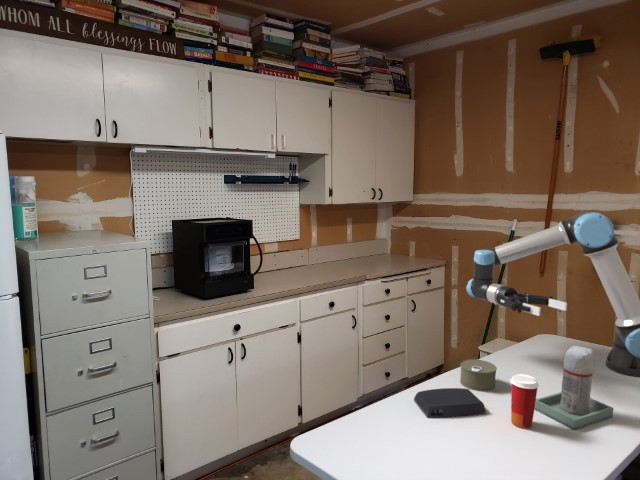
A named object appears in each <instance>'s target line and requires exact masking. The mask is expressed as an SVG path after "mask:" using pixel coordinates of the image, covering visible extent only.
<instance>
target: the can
mask: <svg viewBox="0 0 640 480" xmlns="http://www.w3.org/2000/svg"><path fill="white" fill-rule="evenodd" d="M496 375H497V366H496V365H495V364H493V363H492V362H489V361H487V360H483V359H477V358H471V359H470V358H469V359H464V360H462V361H460V378H459V379H460V380H459V382H460V385H461V386H463V387H464V388H465V389H469V390H470V391H476V392H490V391H493V390H494V389H495V387H496V377H497V376H496Z"/></svg>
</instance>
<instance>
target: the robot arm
mask: <svg viewBox="0 0 640 480" xmlns="http://www.w3.org/2000/svg"><path fill="white" fill-rule="evenodd" d="M576 243H578V246H579V247H580V249H581V252H582V254H583V256H586V257H588V258H590V261H591V263H592V265H593V267H594V269H595V271H596V273H597V276H598V278H599V279H600V282H601V285H602V287H603V289H604V291H605V293H606V295H607V297H608V300H609V302H610V304H611V306H612V308H613V311H614V313H615V317H614V318H615V322H614V330H613V331H614V333H613V343H612V347H611V349H610V351H609V353H608V355H607V357H606V359H605V366H606V367H607V369H610V370H611V371H614V372H615V373H619V374H622V375H624V376H625V375H626V376H632V377H639V378H640V298H639V296H638V293H637V291H636V290H635V287H634V284H633V283H632V281H631V278H630V276H629V274H628V272H627V270H626V268H625V265H624V263H623V261H622V259H621V257H620V255H619V251H618V250H617V247H618V246H619V240H618V239H617V236H616V234H615V229H614V224H613V223H612V221H611V220H610V219H609V217H607V216H605V214H602V213H599V212H595V211H591V210H589V211H588V210H587V211H581V212H579V213H577V214H575V215H573V216H571V217H569V218H567V219H564V220H561V221H559V223H558V224H557V225H555V226H554V225H553V226H552V227H550V228H545V229H543V230H541V231H538V232H534V233H532V234H528V235H526V236H523V237H521V238H516V239H515V240H512V241H509V242H506V243H504V244H500V245H498V246H495V247H491V248H489V249H477V250H475V252H474V256H473V276H472V278H471V279H470V280H469V281H467V285H466V289H465V290H466V293H467V295H469V296H470V297H472V298H475V299H477V300H481V301H485V302H488V303H493V304H494V305H495V306H497V305H499V306H501V307H504V308H508V309H510V310H511V311H512V312H517V313H519V314H521V313H522V312H524V313H528V314H531V315H534V316H537V317H540V316H541V310H542V308H541V307H539V306H536V305H542V306H548V307H550V308H553V309H558V310H560V311H565V312H566V311H568V302H566V301H561V300H557V299H554V296H551V295H549V296H546V295H545V296H544V295H538V294H530V293H527V292H525V293H518V291H517V290H516V289H515V288H514V287H511V286H507V285H504V284H499V283H494V273H495V268H496V267H498V266H500V265H501V266H502V265H503V264H508V263H509V262H512V261H516V260H519V259H522V258H525V257H527V256H531V255H534V254H537V253H540V252H543V251H546V250H549V249H552V248H555V247H559V246H561V245H564V244H567V245H572V244H576Z"/></svg>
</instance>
